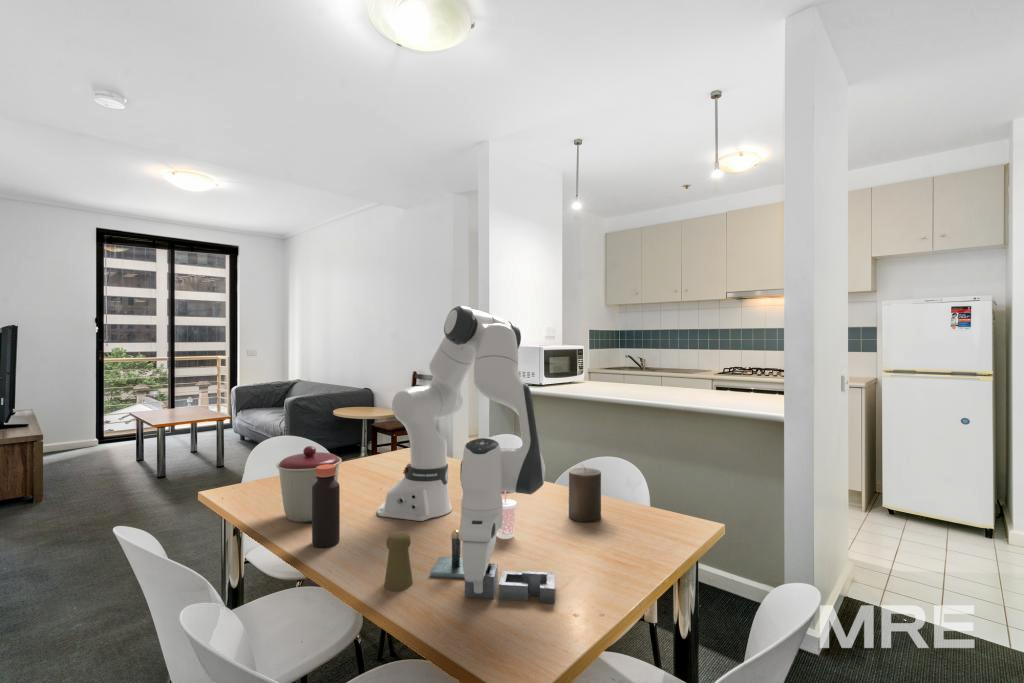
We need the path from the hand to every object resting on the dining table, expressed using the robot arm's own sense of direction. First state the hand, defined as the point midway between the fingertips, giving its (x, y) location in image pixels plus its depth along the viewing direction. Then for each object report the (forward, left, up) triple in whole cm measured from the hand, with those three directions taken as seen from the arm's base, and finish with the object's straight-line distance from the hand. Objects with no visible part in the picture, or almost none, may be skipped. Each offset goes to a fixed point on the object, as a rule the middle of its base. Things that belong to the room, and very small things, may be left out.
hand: (481, 582), depth 106 cm
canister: (-58, +38, -2) cm, 70 cm away
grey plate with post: (-7, +9, -2) cm, 12 cm away
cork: (-18, +1, -2) cm, 19 cm away
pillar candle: (+24, +47, -2) cm, 53 cm away
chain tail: (+9, 0, -2) cm, 9 cm away
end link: (0, 0, -2) cm, 2 cm away
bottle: (-44, +20, -2) cm, 49 cm away
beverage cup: (+2, +30, -2) cm, 30 cm away
